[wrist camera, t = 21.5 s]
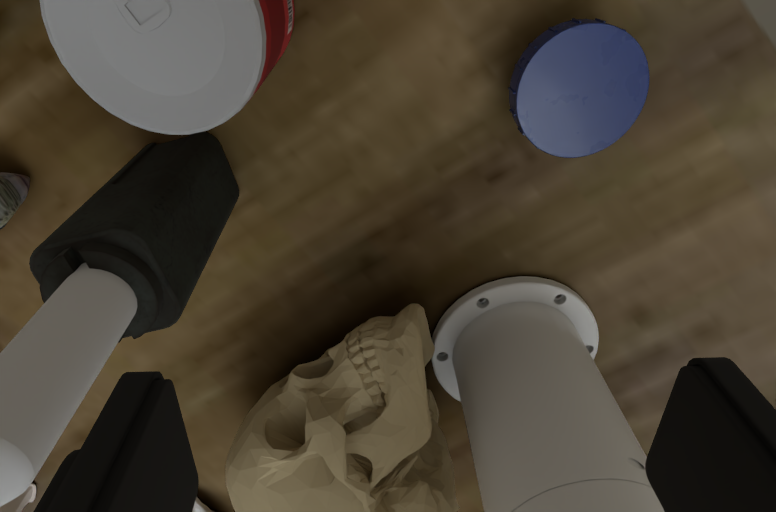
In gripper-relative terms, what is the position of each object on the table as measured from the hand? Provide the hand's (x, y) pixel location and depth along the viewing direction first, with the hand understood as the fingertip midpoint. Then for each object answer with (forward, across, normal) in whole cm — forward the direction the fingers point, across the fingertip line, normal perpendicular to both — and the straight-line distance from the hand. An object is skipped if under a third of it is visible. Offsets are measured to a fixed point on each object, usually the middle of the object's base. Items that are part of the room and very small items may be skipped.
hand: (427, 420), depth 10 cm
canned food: (+25, +8, -5) cm, 27 cm away
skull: (+18, -6, +17) cm, 25 cm away
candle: (+25, +12, +5) cm, 28 cm away
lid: (+21, -10, -1) cm, 23 cm away
